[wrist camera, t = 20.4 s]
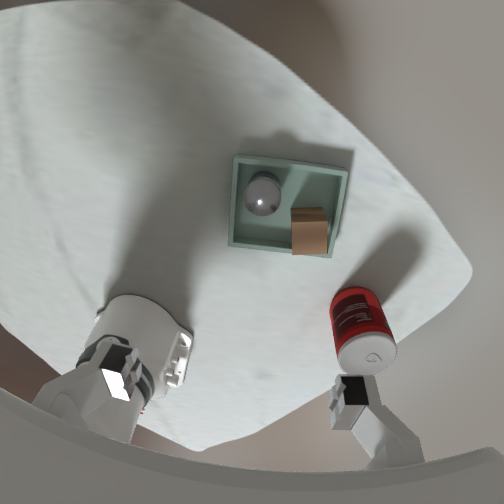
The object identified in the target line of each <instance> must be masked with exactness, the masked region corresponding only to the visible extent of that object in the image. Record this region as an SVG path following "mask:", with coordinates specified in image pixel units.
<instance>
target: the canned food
mask: <svg viewBox="0 0 504 504" xmlns="http://www.w3.org/2000/svg"><path fill="white" fill-rule="evenodd" d="M330 319H331V324H332V330H333V336H334V342H335V348H336V354H337V359H338V363H339V366H340V368H341V369H342V370H343V371H344V372H345V373H347V374H349V375H375V374H378V373H380V372H382V371H383V370H385V369H386V368H388V367H389V366H390V365H391V364H392V362H393V361H394V359H395V357H396V354H397V347H396V343H395V340H394V337H393V335H392V332H391V330H390V327H389V325H388V322H387V320H386V317H385V315H384V312H383V310H382V308H381V305H380V303H379V301H378V298H377V297H376V296H375V295H374V294H373V293H372V292H371V291H370V290H368V289H366V288H363V287H350V288H347V289H344V290H342V291H341V292H339V293H338V294H337V295H336V296H335V297H334V299H333V300H332V302H331V306H330Z"/></svg>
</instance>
